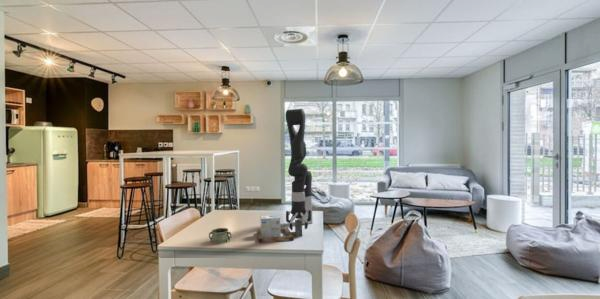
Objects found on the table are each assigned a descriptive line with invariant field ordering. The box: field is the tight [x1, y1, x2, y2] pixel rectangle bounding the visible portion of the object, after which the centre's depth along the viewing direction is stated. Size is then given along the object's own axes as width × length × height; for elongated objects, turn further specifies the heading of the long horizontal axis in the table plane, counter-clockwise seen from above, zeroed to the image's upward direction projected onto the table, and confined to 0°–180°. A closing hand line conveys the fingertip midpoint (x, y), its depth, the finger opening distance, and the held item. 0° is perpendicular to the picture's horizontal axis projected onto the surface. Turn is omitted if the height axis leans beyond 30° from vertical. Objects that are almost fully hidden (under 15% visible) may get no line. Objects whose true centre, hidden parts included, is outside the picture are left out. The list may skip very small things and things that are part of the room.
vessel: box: [208, 227, 233, 245], centre depth 163 cm, size 12×9×6 cm
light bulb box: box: [260, 214, 281, 238], centre depth 173 cm, size 11×7×11 cm, turn 101°
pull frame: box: [256, 219, 303, 244], centre depth 171 cm, size 24×18×8 cm
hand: (298, 229), depth 174 cm, fingers open, 7 cm apart
